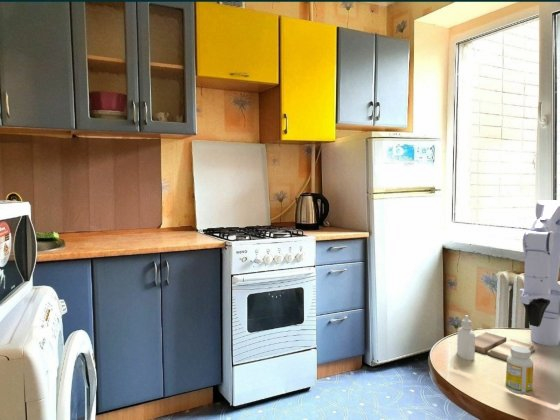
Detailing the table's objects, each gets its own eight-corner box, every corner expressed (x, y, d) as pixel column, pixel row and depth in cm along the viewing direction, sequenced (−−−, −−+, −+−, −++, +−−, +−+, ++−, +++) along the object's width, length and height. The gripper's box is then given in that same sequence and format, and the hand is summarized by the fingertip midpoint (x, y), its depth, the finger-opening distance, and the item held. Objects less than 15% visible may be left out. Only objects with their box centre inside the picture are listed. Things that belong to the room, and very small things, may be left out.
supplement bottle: (510, 394, 95) (511, 352, 95) (502, 383, 100) (503, 344, 100) (536, 396, 94) (538, 354, 94) (526, 385, 99) (528, 345, 99)
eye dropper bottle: (474, 356, 116) (475, 313, 115) (474, 364, 111) (475, 319, 110) (457, 353, 118) (458, 311, 117) (456, 361, 113) (457, 317, 112)
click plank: (508, 343, 123) (508, 338, 123) (533, 350, 118) (534, 345, 118) (487, 354, 115) (487, 348, 115) (513, 362, 110) (513, 357, 110)
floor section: (484, 338, 129) (484, 331, 129) (535, 353, 118) (536, 345, 118) (461, 349, 121) (461, 341, 121) (513, 366, 110) (514, 357, 109)
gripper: (532, 270, 120) (530, 316, 121) (508, 276, 112) (506, 326, 112) (560, 274, 115) (558, 323, 116) (537, 281, 106) (535, 334, 107)
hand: (534, 325), depth 114 cm, fingers closed
